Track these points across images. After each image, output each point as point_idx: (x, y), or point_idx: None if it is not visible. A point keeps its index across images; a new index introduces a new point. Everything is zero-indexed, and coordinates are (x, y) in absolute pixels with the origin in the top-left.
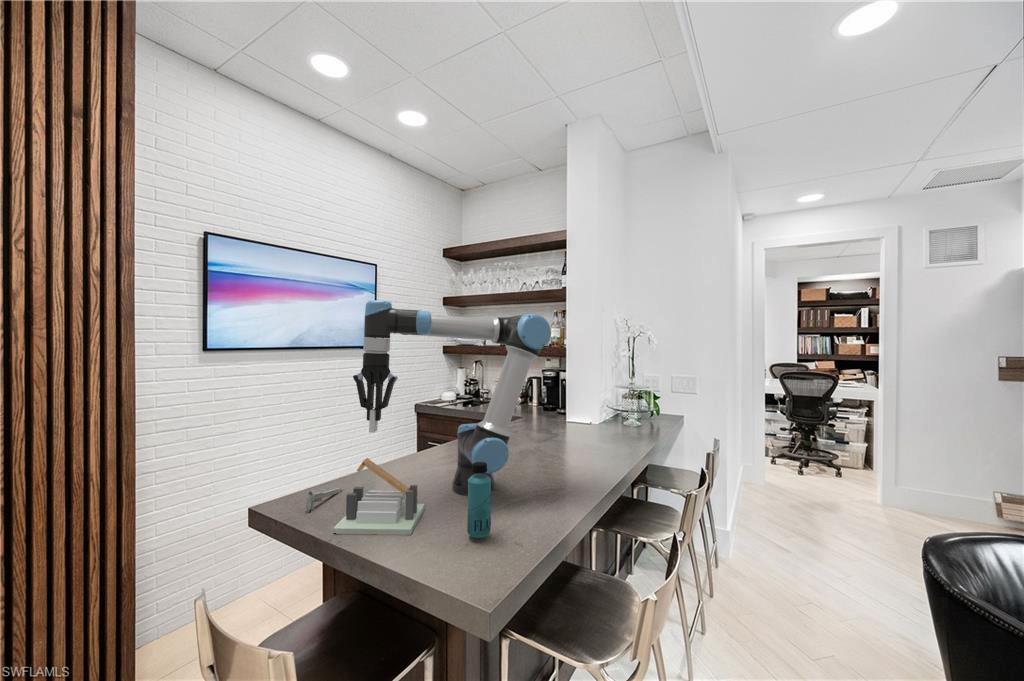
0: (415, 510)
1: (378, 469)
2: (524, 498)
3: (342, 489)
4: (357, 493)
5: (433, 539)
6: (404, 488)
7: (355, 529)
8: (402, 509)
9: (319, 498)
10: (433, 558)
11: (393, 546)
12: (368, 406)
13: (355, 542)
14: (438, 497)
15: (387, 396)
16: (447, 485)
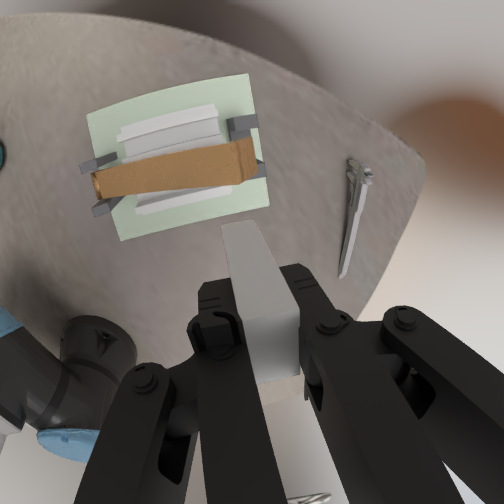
0: None
1: (179, 165)
2: None
3: (339, 275)
4: None
5: (48, 117)
6: (109, 177)
7: (199, 81)
8: None
9: (353, 198)
10: (32, 65)
11: (102, 66)
12: (336, 336)
13: (180, 55)
14: (130, 296)
15: (81, 498)
16: (149, 349)
